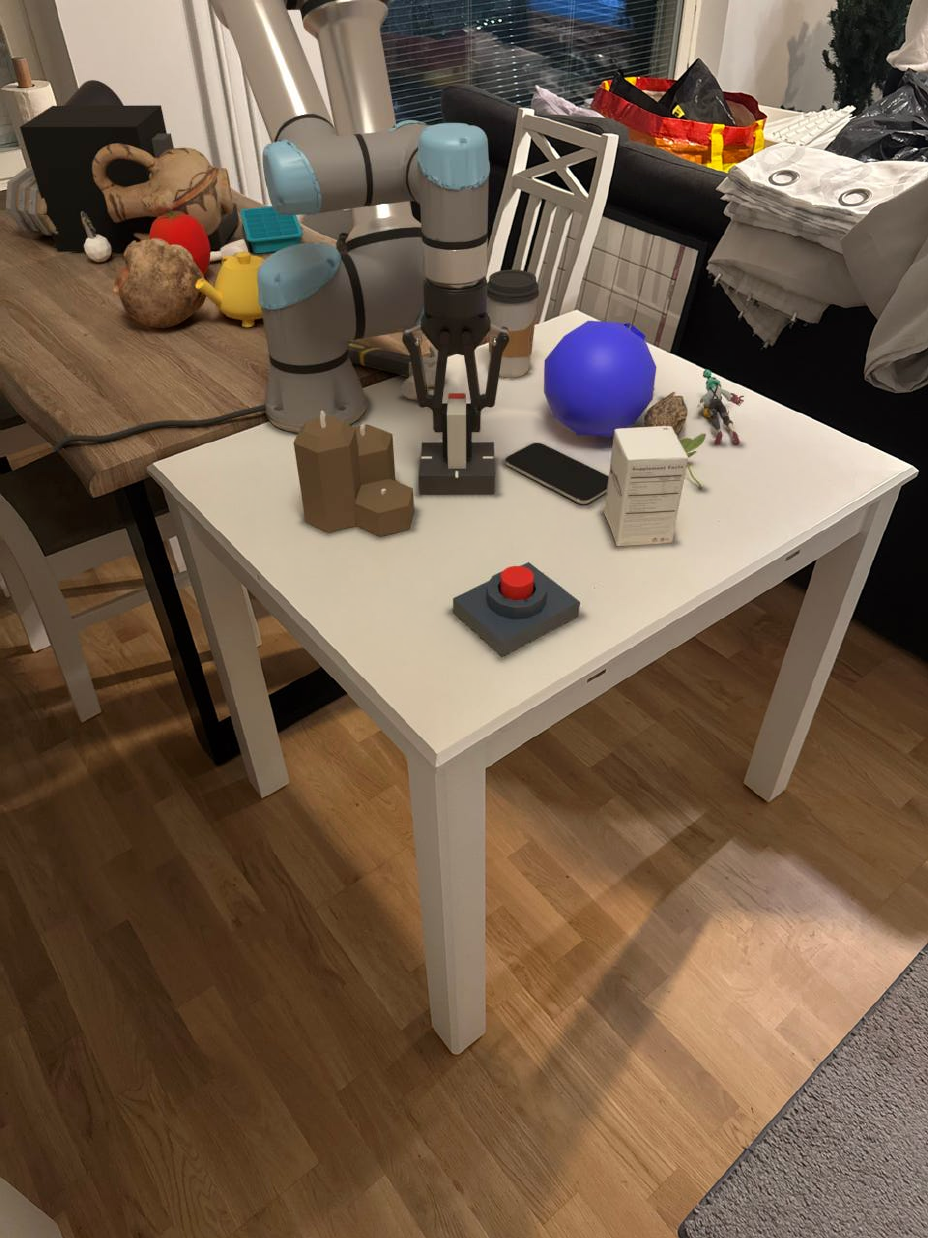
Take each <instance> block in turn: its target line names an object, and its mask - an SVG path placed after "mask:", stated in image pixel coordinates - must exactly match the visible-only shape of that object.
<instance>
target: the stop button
mask: <svg viewBox="0 0 928 1238" xmlns="http://www.w3.org/2000/svg"><path fill="white" fill-rule="evenodd" d="M502 571H503V572H502ZM502 571H501V572H502V573H501V589H500V590H501V593H502V594H503V596H505V597H506V598H509V599H512V600H523V599H527V598H528V597H530V596H531V595H532V593H533V583H534V575H533V573H532V571H531V570H529V569H528V568H526V567H523V566H521V565H511V566H508V567H506V568H504V569H503V570H502Z"/></svg>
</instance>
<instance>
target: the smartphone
mask: <svg viewBox="0 0 928 1238" xmlns="http://www.w3.org/2000/svg"><path fill="white" fill-rule="evenodd" d="M504 459H505V460H504V463H505V465H506V466H507V467H509V468H511V469H513V470H515V471H517V472H519V473H521V474H522V475H524V476H526V477H528V478H530V479H532V480H534V481H536V482H538V483H539V484H542V485H544V486H546V487H547V488H549V489H551V490H553V491H554V492H556V493H558V494H560V495H563V496H564V497H566V498H569V499H570V500H572V501H574V502H576V503H578V504H581V505H587V504H590V503H591V502H593V501H595V500H597V498H599V497H601V496H602V495H604V494H607V487H608V479H609V475H607V474H605V473H603V472H601V471H599V470H597V469H595V468H593V467H591V466H589V465H587V464H585V463H582V462H580V461H578V460H577V459H574V458H572V457H570V456H569V455H567V454H565V453H562V452H561V451H558V450H557V449H554V448H552V447H550V446H548V445H546V444H545V443H542V442H533V443H531V444H529V445H527V446H524V447H523V448H521V449H519V450H517V451H515V452H514V453H512V454H510V455H508V456H507V457H506V458H504Z"/></svg>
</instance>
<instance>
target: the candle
mask: <svg viewBox="0 0 928 1238" xmlns="http://www.w3.org/2000/svg"><path fill="white" fill-rule="evenodd" d="M393 436H394V435H393V433H392V432H388V431H386V430H383V429H381V428H379V427H376V426H374V425H371V424H368V423H366V424H360V425H357V426H352V425H351V424H350V425H349V424H347V423H345V422H343V421H341V420H338V419H336V418H333V417H331V416H325V413H324V411H321V413H320V418H315V419H311V420H308V421H307V422H306V423H305V424H303V425H302V426H301V428H300V430H299V432H298V433H296V437H295V438H294V440H293V451H294V455H295V462H296V469H297V475H298V482H299V488H300V494H301V502H302V508H303V515H304V521H305V523H307V524H309V525H311V526H312V527H315V528H317V529H319V530H321V531H324V532H326V533H332V532H337V531H341V530H345V529H348V528H352V527H359V528H361V529H362V530H365V531H367V532H369V533H372V534H373V535H376V536H378V537H384V536H388V535H392V534H395V533H399V532H403V531H404V532H405V531H407V530H410V529H411V525H412V522H413V518H414V514H415V499H414V488H413V487H411V486H408V485H406V484H403V483H401V482H398V481H397V480H396V466H395V450H394V437H393Z"/></svg>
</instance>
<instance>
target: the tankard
mask: <svg viewBox="0 0 928 1238" xmlns="http://www.w3.org/2000/svg"><path fill="white" fill-rule="evenodd" d="M5 199H6V200H5V209H6V210H7V212H8V213H9V214H10V216H11V217H12V218H13V220H14V222H16V224H17V225H18V226H19V228H20V229H21V231H23V232H27V233H31V234H36V235H40V236H45V237H53V235H52V233H54V232H55V231H56V227H55V226H54V224H53V222H52V221H51V219H50V218H49V216H48V215H46V213H47V205H46V202H45V200H44V198H41V195H40V192H39V189H38V185H37V182H36V179H35V175H34V172H33V169H31V168H30V167H28V166H27V167H25V168H23V169H22V170H21V171H20V172H18V173H17V174H16V175H14V176H13V177H11V178H10V179H9V180H7V183H6V198H5ZM55 234H58V232H57V231H56V232H55Z"/></svg>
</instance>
